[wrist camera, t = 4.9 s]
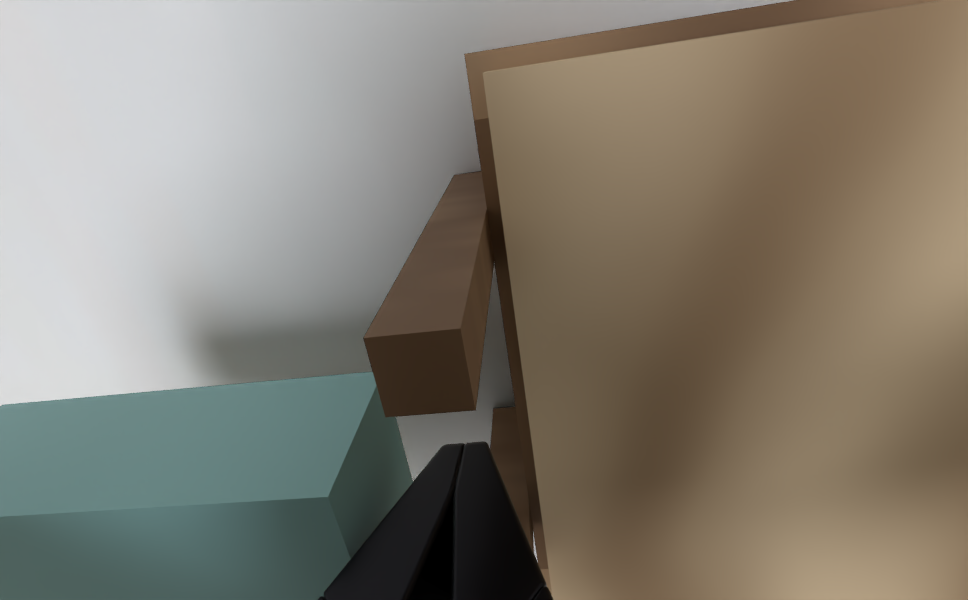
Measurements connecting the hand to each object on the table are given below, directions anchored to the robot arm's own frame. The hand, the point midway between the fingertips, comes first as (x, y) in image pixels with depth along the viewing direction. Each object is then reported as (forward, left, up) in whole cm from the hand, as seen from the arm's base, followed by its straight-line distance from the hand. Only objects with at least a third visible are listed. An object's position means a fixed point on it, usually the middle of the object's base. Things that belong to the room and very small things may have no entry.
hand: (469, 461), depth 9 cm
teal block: (+5, 0, -1) cm, 5 cm away
